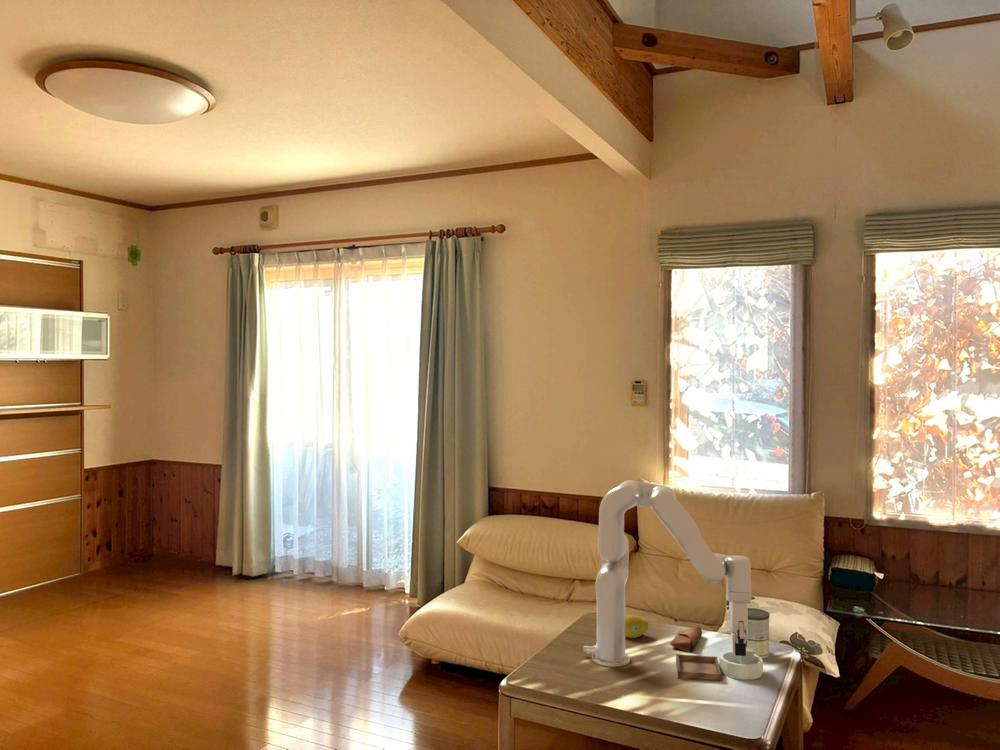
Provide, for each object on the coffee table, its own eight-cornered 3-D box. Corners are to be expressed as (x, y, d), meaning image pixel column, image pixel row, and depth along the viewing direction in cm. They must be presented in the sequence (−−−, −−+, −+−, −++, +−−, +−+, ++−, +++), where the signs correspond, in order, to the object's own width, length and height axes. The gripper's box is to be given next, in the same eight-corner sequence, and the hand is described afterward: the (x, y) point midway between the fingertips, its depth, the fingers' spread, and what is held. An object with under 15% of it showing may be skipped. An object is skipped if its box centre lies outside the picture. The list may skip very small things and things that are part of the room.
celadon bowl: (722, 678, 237) (722, 663, 237) (718, 663, 250) (718, 649, 250) (765, 681, 235) (765, 666, 235) (759, 666, 247) (759, 652, 248)
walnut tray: (678, 678, 237) (678, 671, 237) (675, 660, 252) (675, 653, 252) (721, 681, 234) (721, 674, 234) (716, 663, 250) (716, 656, 250)
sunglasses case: (678, 629, 279) (689, 617, 277) (693, 643, 277) (705, 631, 275) (668, 644, 262) (680, 631, 261) (684, 659, 260) (696, 646, 259)
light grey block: (741, 669, 242) (741, 651, 242) (739, 665, 246) (739, 647, 246) (754, 670, 241) (754, 651, 242) (752, 666, 245) (752, 648, 245)
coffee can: (732, 653, 259) (732, 612, 259) (746, 646, 267) (746, 606, 267) (761, 661, 252) (761, 618, 252) (774, 653, 259) (774, 612, 259)
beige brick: (733, 654, 240) (732, 635, 240) (731, 650, 243) (731, 631, 243) (746, 654, 239) (745, 635, 239) (744, 650, 242) (744, 632, 242)
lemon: (617, 640, 272) (617, 618, 272) (618, 633, 280) (618, 611, 280) (648, 642, 270) (648, 620, 270) (648, 635, 278) (648, 613, 278)
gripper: (723, 588, 250) (724, 643, 250) (729, 602, 234) (730, 661, 233) (747, 588, 249) (748, 644, 248) (754, 603, 232) (755, 663, 232)
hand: (739, 652), depth 241 cm, fingers closed on beige brick, 3 cm apart
